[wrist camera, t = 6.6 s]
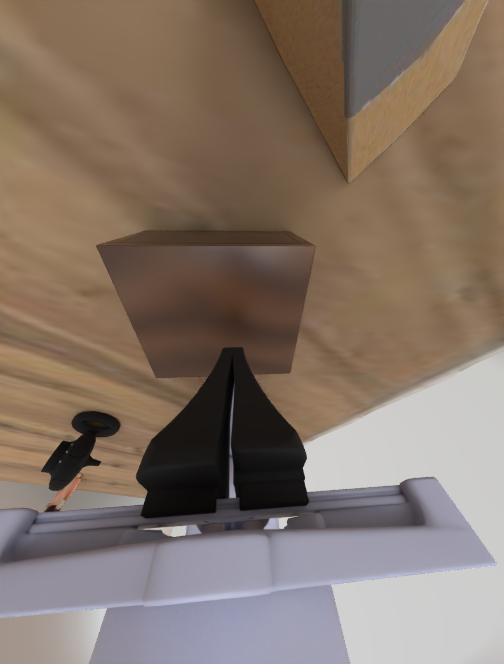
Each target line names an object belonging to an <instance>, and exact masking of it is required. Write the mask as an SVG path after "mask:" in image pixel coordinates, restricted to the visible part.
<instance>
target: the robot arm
mask: <svg viewBox="0 0 504 664" xmlns="http://www.w3.org/2000/svg"><path fill="white" fill-rule="evenodd" d="M306 459H307V456H306V452H305V449H304V446H303V444H302V442H301V439H300V437H299V435H298V434H297V432H296V430H295V429H294V428H293V427H292V426H291V425H290V424H289V423H288V422H287V421H286V420H285V419H284V418H283V416H282V415H281V414H280V413H279V412H278V411H277V409H276V408H275V407H274V406H273V404H272V403H271V402H270V400H269V399H268V398H267V396H266V395H265V394H264V392H263V391H262V389H261V387H260V386H259V384H258V383H257V381H256V379H255V377H254V375H253V373H252V371H251V369H250V367H249V365H248V362H247V360H246V357H245V353H244V348H243V347H226V348H223V349H222V351H221V354H220V356H219V358H218V361H217V363H216V364H215V366H214V368H213V370H212V372H211V373H210V375H209V376H208V378H207V380H206V381H205V383H204V384H203V386H202V387H201V388H200V390H199V391H198V392H197V394H196V395H195V396H194V397H193V399H192V400H191V401H190V402H189V403H188V405H187V406H186V407H185V408H184V409H183V410H182V411H181V412H180V413H179V414H178V415H177V416H176V417H175V418H174V419H173V420H172V421H171V422H170V423H169V424H168V425H167V426H166V427H165V428H164V429H163V430H162V431H161V432H159V433H158V434H157V435H156V436H155V437H154V438H153V439H152V440H151V442H150V444H149V446H148V448H147V450H146V452H145V454H144V456H143V458H142V461H141V464H140V466H139V469H138V472H137V474H136V479H137V481H138V482H139V483H140V484H141V485H142V486H143V487H144V488H145V489H146V490H147V491H148V492H147V495H146V499H145V502H144V505H134V506H122V507H108V508H97V509H82V510H70V511H56V512H43V513H38V511H36V510H33V509H29V508H11V509H0V618H3V617H15V616H26V615H37V614H48V613H57V612H58V613H59V612H70V611H80V610H91V609H102V608H107V610H106V613H105V616H104V619H103V622H102V625H101V628H100V632H99V635H98V638H97V641H96V644H95V647H94V650H93V653H92V656H91V659H90V662H89V664H350V661H349V657H348V653H347V649H346V645H345V640H344V636H343V632H342V628H341V624H340V620H339V616H338V611H337V607H336V603H335V599H334V595H333V591H332V587H331V584H340V583H348V582H356V581H365V580H374V579H382V578H391V577H398V576H408V575H417V574H425V573H434V572H442V571H451V570H460V569H468V568H478V567H488V566H496V561H495V560H494V558H493V557H492V556H491V554H490V553H489V552H488V550H487V549H486V547H485V546H484V544H483V543H482V542H481V540H480V539H479V537H478V536H477V534H476V533H475V532H474V530H473V529H472V528H471V526H470V525H469V523H468V522H467V521H466V519H465V518H464V516H463V515H462V514H461V512H460V511H459V509H458V508H457V507H456V505H455V504H454V502H453V501H452V500H451V499H450V497H449V495H448V494H447V493H446V491H445V490H444V488H443V487H442V486H441V484H440V483H439V482H438V480H437V479H436V478H435V477H425V478H412V479H407V480H405V481H403V482H401V483H400V485H396V486H382V487H369V488H356V489H343V490H330V491H317V492H307V491H306V487H305V482H304V480H305V476H304V472H303V466H304V464H305V462H306ZM293 516H298V517H293ZM281 517H293V518H289V519H288V520H287V526H286V527H284V529H279V521H278V518H281ZM185 525H187V527H186V535H185V536H179V537H171V536H167V535H165V534H164V533H163V532H162V530H143V529H150V528H162V527H174V526H185Z"/></svg>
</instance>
